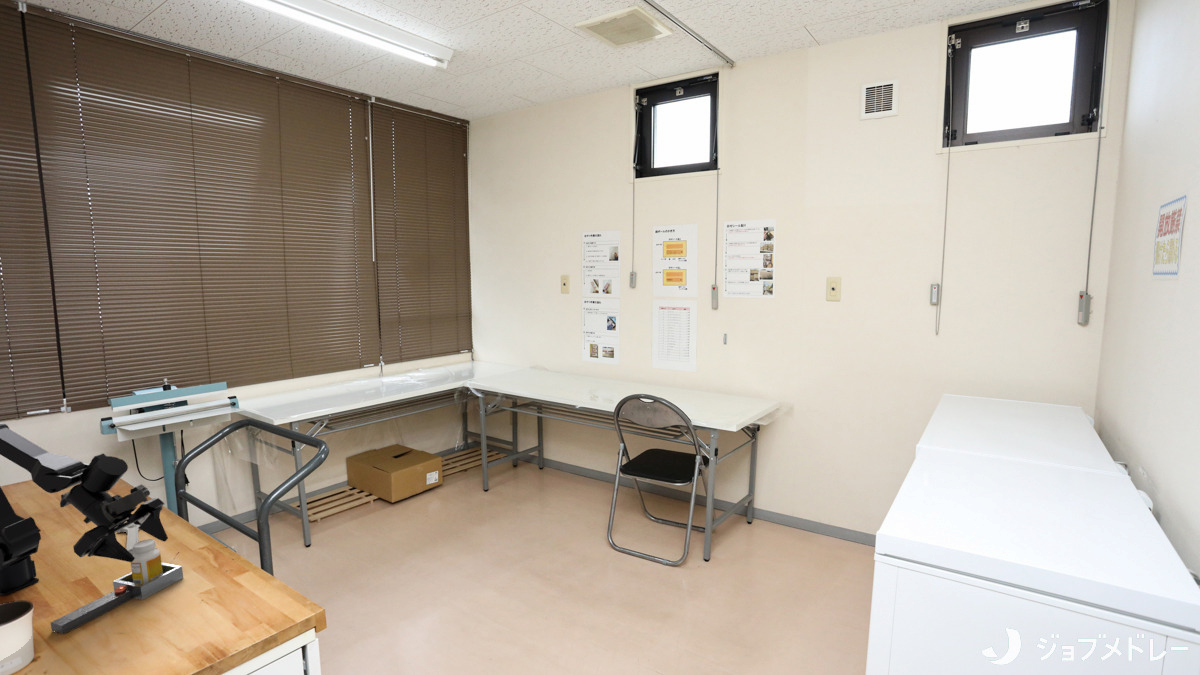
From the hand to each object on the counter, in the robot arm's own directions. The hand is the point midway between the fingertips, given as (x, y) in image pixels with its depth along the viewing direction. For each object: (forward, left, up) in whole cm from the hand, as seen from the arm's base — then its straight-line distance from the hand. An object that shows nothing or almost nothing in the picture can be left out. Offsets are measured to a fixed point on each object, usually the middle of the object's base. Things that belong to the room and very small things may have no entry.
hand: (150, 549), depth 129 cm
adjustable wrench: (+15, +32, -9) cm, 36 cm away
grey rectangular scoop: (-7, +1, -9) cm, 11 cm away
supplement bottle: (0, +1, -8) cm, 8 cm away
